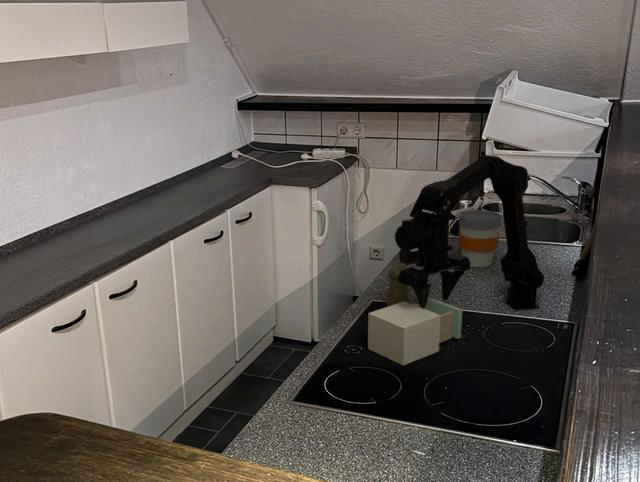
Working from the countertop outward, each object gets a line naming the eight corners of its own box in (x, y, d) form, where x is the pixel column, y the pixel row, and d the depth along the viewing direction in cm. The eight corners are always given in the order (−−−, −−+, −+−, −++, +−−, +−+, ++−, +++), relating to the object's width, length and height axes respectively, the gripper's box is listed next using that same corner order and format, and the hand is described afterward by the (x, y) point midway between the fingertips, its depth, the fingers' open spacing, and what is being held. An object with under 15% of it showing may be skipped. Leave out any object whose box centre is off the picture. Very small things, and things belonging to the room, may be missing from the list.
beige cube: (403, 336, 185) (404, 301, 182) (438, 351, 177) (440, 315, 173) (367, 349, 179) (368, 313, 176) (403, 365, 170) (404, 328, 167)
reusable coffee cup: (449, 265, 234) (452, 217, 228) (464, 254, 243) (467, 208, 238) (489, 271, 227) (493, 222, 222) (503, 259, 237) (507, 213, 231)
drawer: (431, 323, 190) (432, 296, 187) (464, 336, 182) (466, 308, 179) (397, 335, 183) (398, 307, 181) (430, 349, 176) (431, 320, 173)
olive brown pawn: (408, 309, 201) (409, 270, 197) (385, 308, 202) (386, 269, 198) (409, 301, 207) (410, 262, 203) (387, 300, 208) (388, 262, 204)
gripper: (437, 225, 185) (435, 285, 191) (381, 242, 175) (381, 305, 181) (473, 234, 177) (470, 297, 183) (416, 253, 167) (415, 318, 173)
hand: (433, 304), depth 180 cm, fingers open, 7 cm apart
